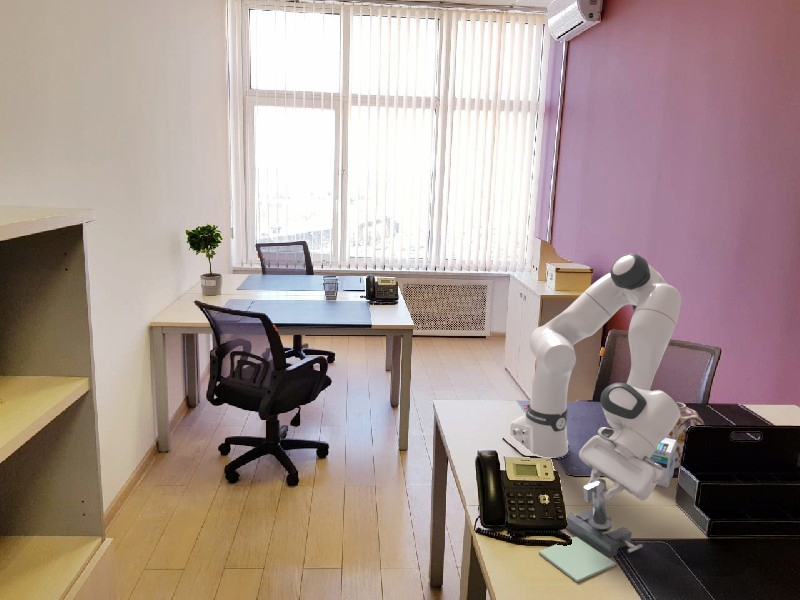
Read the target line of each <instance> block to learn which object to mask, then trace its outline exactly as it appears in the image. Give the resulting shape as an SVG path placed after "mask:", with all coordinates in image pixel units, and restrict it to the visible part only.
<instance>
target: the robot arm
mask: <svg viewBox="0 0 800 600" xmlns="http://www.w3.org/2000/svg"><path fill="white" fill-rule="evenodd" d="M679 291H680V290H678V289H677V288H676V287H674V286H673V285H671V284H668V282H667V281H666V280H665V279H664V277H663V276H662V274H661V273H659V271H657V270H656V269H655V268H654V267H653V266H652V265H650V264H649V263H648V262H647V260H646V259H645V258H644V257H642V256H641V255H639V254H637V253H634V252H633V253H626V254H623V255H622V256H620V257H618V258H617V259H616V260H615V261H614V263H613V264H612V266H611V267H610V270H609V273H606V274H604V275H603V276H601V277H600V278H599V279H597V280H596V281H594V282H593V283H592V284H591V285H590V286H589V287H588V288H587V289H585V290H584V291H583V292H582V293H581V294H580V295H579V296H578V297H577V298H576V299H575V300H574V301H573V302H572V303H571V304H570V305H569V306H567V308H565V309H564V310H563V311H562V312H561V313H559V314H558V315H556V316H554V318H552V319H550V320H549V321H548V322H545V324H544V325H541V326H539V327H536V328H535V329H534V330H533V331H532V333H531V335H530V336H529V337H530V338H529V348H530V350H531V352H532V354H533V355H534V358H535V361H536V363H535V364H536V365H535V372H534V376H533V380H532V381H531V387H530V388H531V389H530V403H529V404H527V405H523V406H524V408H523V409H524V410H526V412H525V414H523V415H521V416H519V417H518V418H516V419H514V420H513V421H512V422H511V423H510V427H509V431H510V435H511V436H513V437H514V438H515V439H516V440H517V441H519V442H520V443H521V444H522V445H524V446H525V447H526V448H527V449H529V450H530V451H531V453H533V454H537V455H539V456H543V457H553V458H554V457H559V456H562V455H565V454H566V453H567V452H568V450H569V440H568V430H567V429H568V428H567V421H568V416H569V415H568V409H567V406H568V405H567V404H568V403H567V401H568V399H567V398H568V389H569V384H570V383H569V382H570V379H571V375H572V371H573V369H574V367H575V364H576V361H577V356H576V351H575V348H574V345H575V344H577V343H579V342H581V341H582V340H584V339H586V338H588V337H589V338H590V337H591V336H593V335H594V334H596V332H598V330H600V329H601V328H602V327H603V326H604V325H605V324H606V323H607V322H609V320H610V319H611V318H612V317H613V316H614V315H615V314H616V313H617V312H618V311H619V310H620V309H621V308H623V307H625V306H628V305H632V310H633V313H632V317H631V320H630V322H629V327H628V332H627V333H628V335H627V339H628V346H629V350H630V359H631V360H630V364H631V366H630V372H629V376H628V378H627V381H626V382H625V383H624V382H615V383H611V384H609V385H608V386H606V387H605V388H604V389H603V390H602V392H601V395H600V397H599V398H600V404H601V409H602V411H603V414H604V416H605V419H606V424H607V427H604V426H601V427H599V429H598V430H597V434H598V435H597V434H596V435H593V436H592V437H591V438H590V439H589V440H587V442H586V443H584V445H583V446H582V448H580V450H579V451H578V458H579V459H580V460H581V462H582V463H583V464H585V465H586V466H588V467H590V468H591V472H590V478H589V480H588V482H587V483H586V485H588V484H591V483H592V480H593V479H596V478H601V476H603V477H605V478H606V479H608V480H609V481H611V482H613V487H610V488H609V489H607V488H606V489H604V490H603V492H602V493H601V495H602V496H603V497H604V498H605V499H606V501H609V500H610V499H611V498H612V496H615V495H617V494H620V493H621V492H622V491H623V490H625V491H627V492H628V493H630V494H631V495H633V496H635V497H636V498H638V499H639V500H640V501H644V500H647V499H648V498H649V497H650V496H651V495H652V493H653V491H654V489H655V488H656V486H657V485H656V484H657V482H658V481H659V480H660V479H661V478H662V476H663V474H664V471H663V469H662V466H661V465H660V464H658V463H655V462H654V461H652V460H651V459H650V457H651V456H652V455H653V454H654V452H655V451H656V449H657V447H658V445H659V443H660V442H661V441H662V440H664V439H665V438H666V437H667V436H668V435H669V433H670V432H671V430H672V429H673V428H674V426H675V425H676V423H677V421H678V419H679V417H680V409H679V406H678V404H677V403H676V402H677V401H676V400H675V399H674V398H673V396H671V395H670V394H669V393H667V392H666V391H663V390H660V389H655V390H652V387H653V384H654V380H655V378H656V374H657V372H658V369H659V366H660V364H661V362H662V359H663V357H664V354H665V352H666V350H667V347H668V345H669V343H670V341H671V339H672V336H673V334H674V332H675V329H676V326H677V323H678V321H679V318H680V317H679V316H680V311H681V307H682V306H681V305H682V295H681V293H680V292H679ZM660 469H661V470H662V471H661V470H660Z"/></svg>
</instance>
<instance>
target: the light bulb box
mask: <svg viewBox="0 0 800 600" xmlns="http://www.w3.org/2000/svg"><path fill="white" fill-rule="evenodd" d="M676 445H677V440H674V439H669V438H665V439H664V440H662V441H661V442H660V443H659V445H658V447H657V449H656V451H655V452H654V454H653V455H652V456H651V457H650V459H651V460H652V461H654V462H655V463H658V464H660V465H661V466H662V469H663V471H664V474H663V476H662V478H661V479H660V480H659V481H658V482H657V484H656V486H660V487H663V488H668V487H669V485H670V483H671V481H672V479H673V476H674V475H675V472H674V471H675V469H674V464H675V455H676ZM660 470H661V469H660ZM661 471H662V470H661Z"/></svg>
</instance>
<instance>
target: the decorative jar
mask: <svg viewBox="0 0 800 600" xmlns="http://www.w3.org/2000/svg"><path fill="white" fill-rule="evenodd" d="M675 402H676V403H677V404H678V406H679V409H680V417H679V419H678V421H677V423H676V425H675V426H674V428H673V429H672V430H671V432H670V433H669V435H668V436H667V437H666V438H669V439H674V440H677V445H676V455H675V464H674V470H675V469H677V468H680V467H679V465H680V461H681V457H682V452H683V446H684V439H685V432H686V429H687V428H688V427H689V426H696V425H704V426H705V422H704V421H703V419H702V418H701V416H700V415H699V414H698V412H697V411H696V410H694V409H692V408H689V407H687V405H686V404H685V403H683V402H680V401H675Z"/></svg>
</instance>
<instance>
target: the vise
mask: <svg viewBox="0 0 800 600" xmlns="http://www.w3.org/2000/svg"><path fill="white" fill-rule="evenodd" d="M592 514H593V508H592V509H588V510H586V511H583V512H581V513H578V514H576V515H575V514H574V513H572V512H570V513H566V515H567V521H568V526H567V528H566V530H568V531H570V532H571V533H572V534H574V535H576V537H578V538H579V539H581V540H582V541H584V542H585V543H587V544H588V545H589V546H591V547H592V548H594V549H595V550H597V551H598V552H600V553H601V554H603V555H604V556H606V557H607V558H612V557H614V556H615V557H616V556H618V550H619V549H622V548H624V547H626V546H627V547H628V548H627V550H626V552H627V553H628V554H630V553H633V552H635V551H637V550H639V549H641V548H643V547H644V546H643V544H642V543H640V544H636V545H634V543H632V534H633V533H632V531H630V530H629V529H627V528H626V527H624V526H622V527H619V528H617V529H614V530H612V531H609V532H607V533H604V532H600V531H598V530H597V529H595V528H594V527H592V526H591V525H589V524H588V518H589V516H590V515H592Z"/></svg>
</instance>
